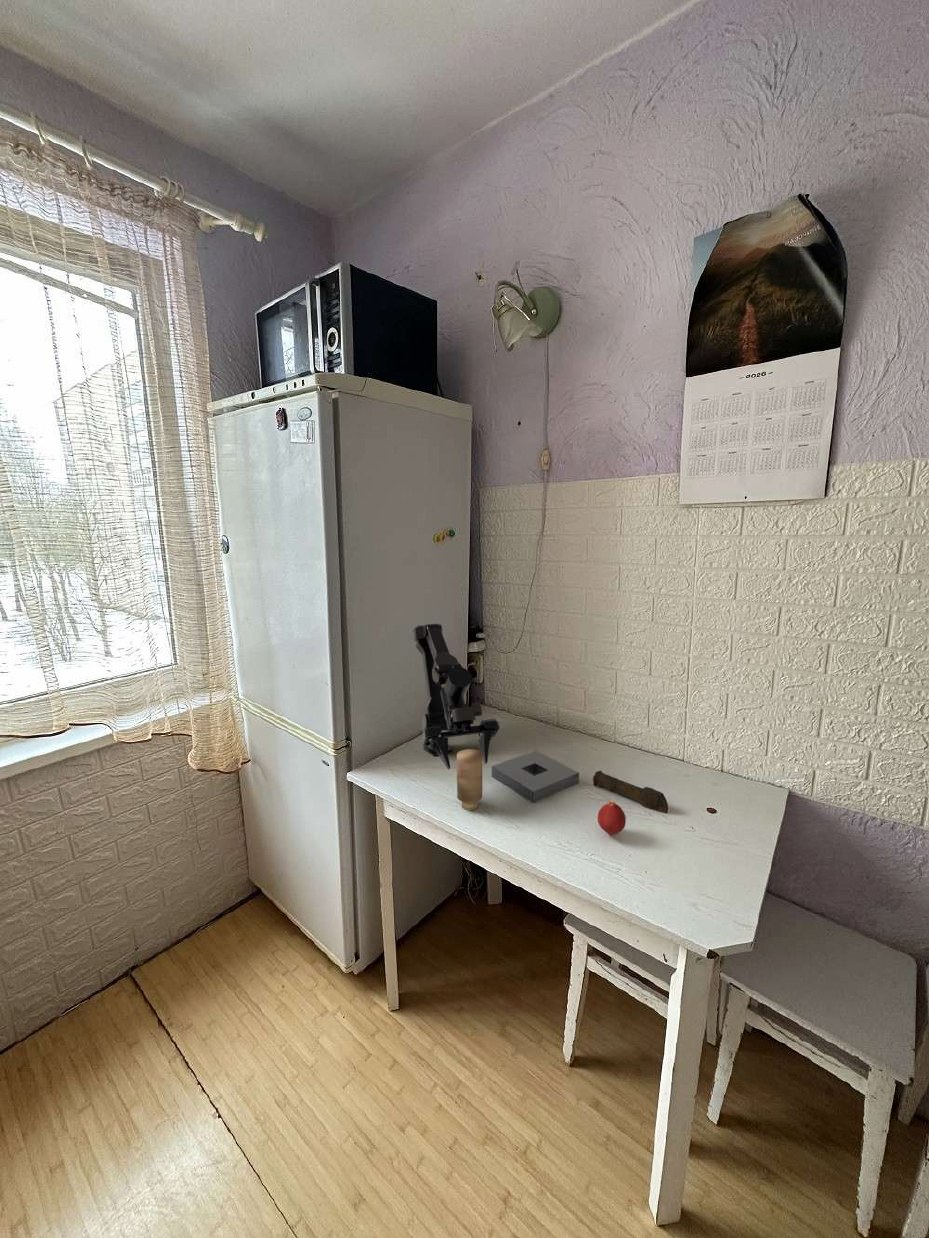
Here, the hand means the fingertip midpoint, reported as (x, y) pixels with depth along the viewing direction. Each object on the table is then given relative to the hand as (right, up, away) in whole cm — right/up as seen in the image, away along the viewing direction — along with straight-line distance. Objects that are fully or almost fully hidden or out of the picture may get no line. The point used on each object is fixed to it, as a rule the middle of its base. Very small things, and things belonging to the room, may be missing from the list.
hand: (468, 765), depth 119 cm
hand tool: (+40, -9, +4) cm, 41 cm away
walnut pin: (0, -10, 0) cm, 10 cm away
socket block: (+18, -7, +12) cm, 23 cm away
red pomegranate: (+31, -12, -11) cm, 35 cm away
